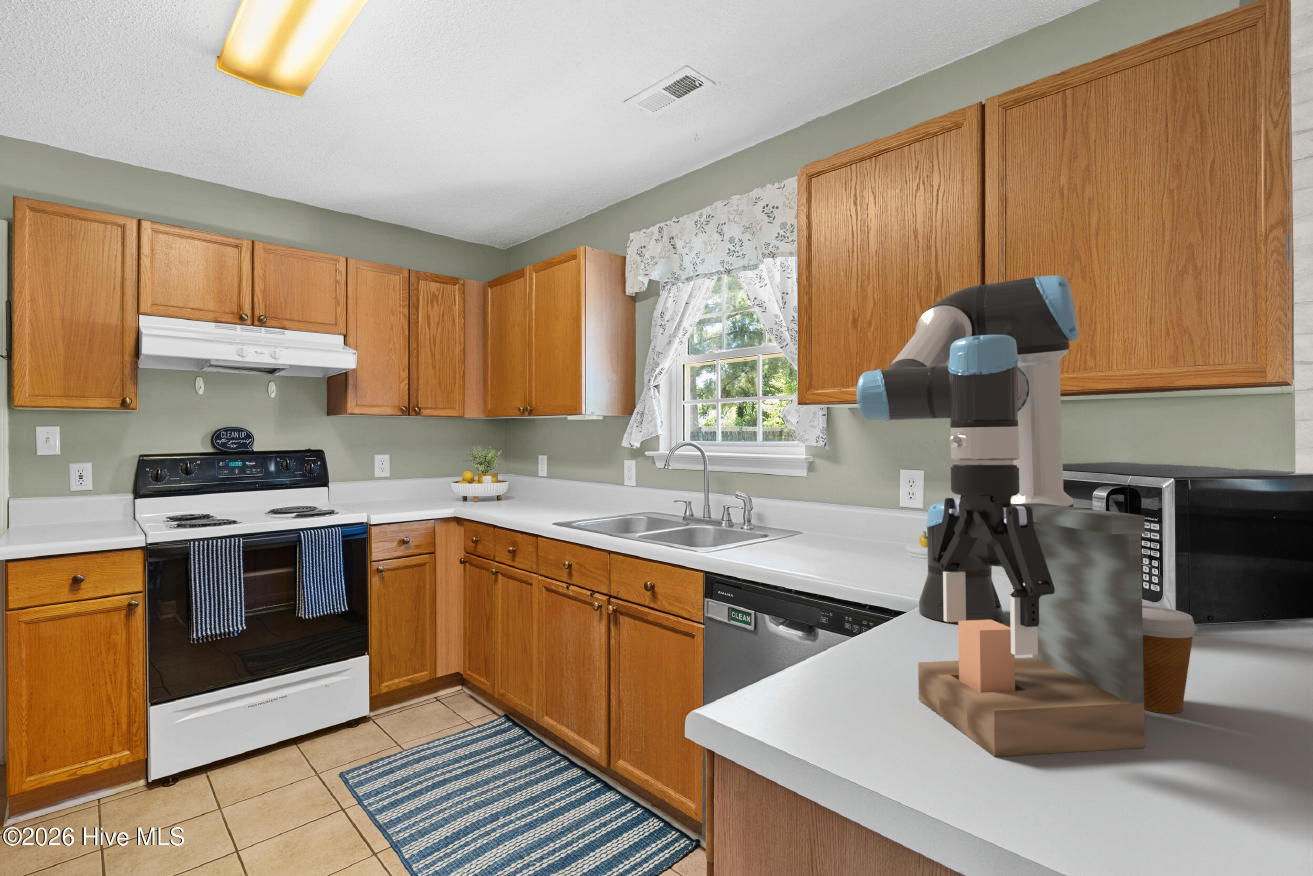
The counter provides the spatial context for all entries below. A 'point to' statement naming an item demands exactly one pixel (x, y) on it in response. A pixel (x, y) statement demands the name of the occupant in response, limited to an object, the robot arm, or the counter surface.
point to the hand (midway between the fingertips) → (986, 636)
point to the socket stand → (1065, 648)
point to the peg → (986, 656)
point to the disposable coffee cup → (1165, 657)
